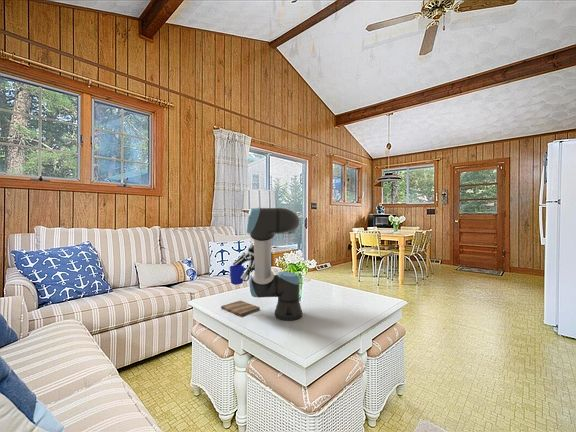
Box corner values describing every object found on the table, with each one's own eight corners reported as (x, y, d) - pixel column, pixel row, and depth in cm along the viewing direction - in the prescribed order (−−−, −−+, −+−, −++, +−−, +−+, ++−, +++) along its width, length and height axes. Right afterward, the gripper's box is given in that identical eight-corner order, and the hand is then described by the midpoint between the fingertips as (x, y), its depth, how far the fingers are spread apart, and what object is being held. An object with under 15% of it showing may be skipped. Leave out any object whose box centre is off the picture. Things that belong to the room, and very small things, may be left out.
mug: (247, 286, 156) (247, 268, 156) (227, 285, 159) (227, 267, 159) (252, 282, 164) (252, 265, 164) (233, 281, 167) (232, 264, 167)
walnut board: (259, 309, 161) (259, 307, 161) (240, 316, 151) (240, 313, 151) (240, 302, 173) (240, 300, 173) (221, 308, 163) (221, 306, 163)
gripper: (273, 253, 165) (253, 284, 154) (247, 249, 181) (227, 278, 169) (266, 245, 161) (245, 276, 150) (241, 242, 177) (220, 270, 165)
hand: (236, 277), depth 159 cm, fingers closed on mug, 11 cm apart
